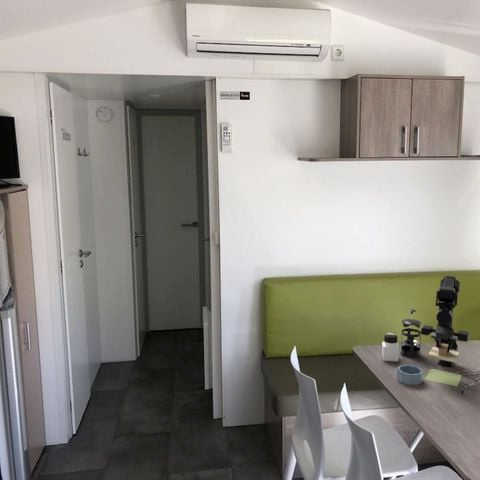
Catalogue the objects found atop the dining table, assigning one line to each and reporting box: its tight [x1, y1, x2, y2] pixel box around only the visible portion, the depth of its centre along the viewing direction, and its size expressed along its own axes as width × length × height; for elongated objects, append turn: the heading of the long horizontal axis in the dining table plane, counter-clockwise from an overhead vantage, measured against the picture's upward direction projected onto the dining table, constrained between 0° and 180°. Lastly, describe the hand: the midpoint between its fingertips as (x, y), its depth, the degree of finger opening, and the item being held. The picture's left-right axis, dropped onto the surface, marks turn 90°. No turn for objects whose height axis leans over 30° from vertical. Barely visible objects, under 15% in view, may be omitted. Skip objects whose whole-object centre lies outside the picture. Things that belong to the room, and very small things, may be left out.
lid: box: [427, 344, 461, 363], centre depth 206 cm, size 11×11×4 cm
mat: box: [424, 368, 463, 387], centre depth 208 cm, size 13×13×1 cm
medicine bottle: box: [381, 333, 400, 362], centre depth 229 cm, size 7×7×12 cm
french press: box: [399, 308, 422, 359], centre depth 233 cm, size 12×9×23 cm
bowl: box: [396, 364, 424, 386], centre depth 205 cm, size 10×10×5 cm
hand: (443, 352), depth 206 cm, fingers closed on lid, 3 cm apart
